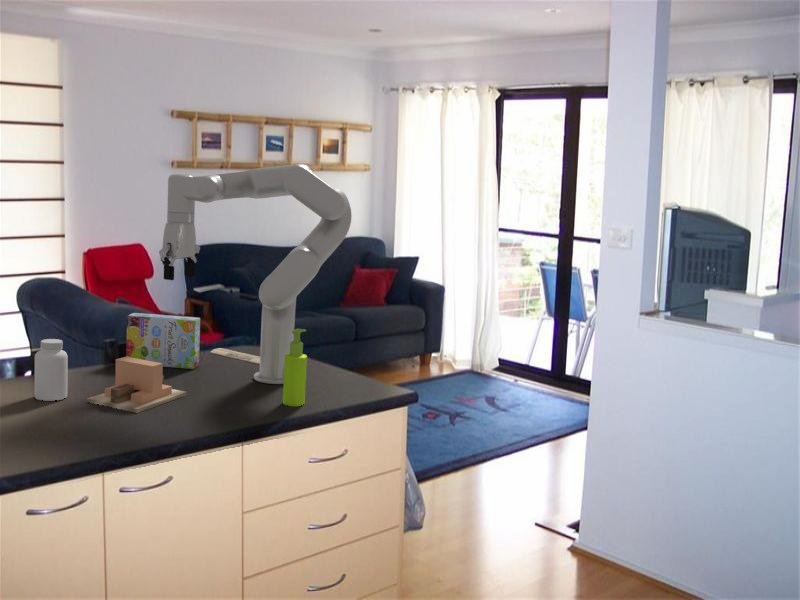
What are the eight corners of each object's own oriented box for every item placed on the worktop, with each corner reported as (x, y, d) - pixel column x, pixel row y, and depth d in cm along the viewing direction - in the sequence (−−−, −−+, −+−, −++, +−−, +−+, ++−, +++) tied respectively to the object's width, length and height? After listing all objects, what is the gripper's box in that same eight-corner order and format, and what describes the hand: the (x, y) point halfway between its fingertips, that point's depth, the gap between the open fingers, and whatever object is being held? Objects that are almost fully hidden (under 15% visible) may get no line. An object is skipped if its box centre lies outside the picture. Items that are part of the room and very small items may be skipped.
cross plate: (171, 393, 244) (172, 360, 243) (141, 403, 233) (142, 369, 232) (135, 386, 249) (136, 353, 247) (104, 396, 238) (105, 362, 236)
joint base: (186, 395, 247) (186, 379, 246) (137, 413, 229) (137, 395, 228) (138, 385, 253) (139, 369, 252) (86, 402, 235) (87, 385, 234)
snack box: (199, 365, 280) (201, 317, 277) (193, 370, 274) (195, 320, 272) (132, 359, 282) (133, 311, 279) (125, 364, 276) (125, 314, 274)
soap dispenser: (310, 401, 249) (313, 329, 245) (298, 407, 242) (302, 333, 239) (290, 398, 250) (293, 326, 247) (278, 404, 244) (282, 330, 241)
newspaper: (278, 364, 290) (278, 359, 289) (263, 368, 284) (264, 363, 283) (223, 352, 302) (223, 346, 302) (207, 355, 296) (207, 350, 296)
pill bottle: (74, 396, 239) (74, 340, 237) (50, 403, 232) (50, 345, 229) (51, 391, 242) (51, 336, 240) (27, 398, 235) (27, 341, 233)
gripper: (188, 215, 270) (187, 273, 273) (150, 218, 255) (149, 279, 257) (209, 218, 267) (208, 276, 270) (172, 220, 252) (171, 282, 254)
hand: (179, 277), depth 264 cm, fingers open, 9 cm apart
